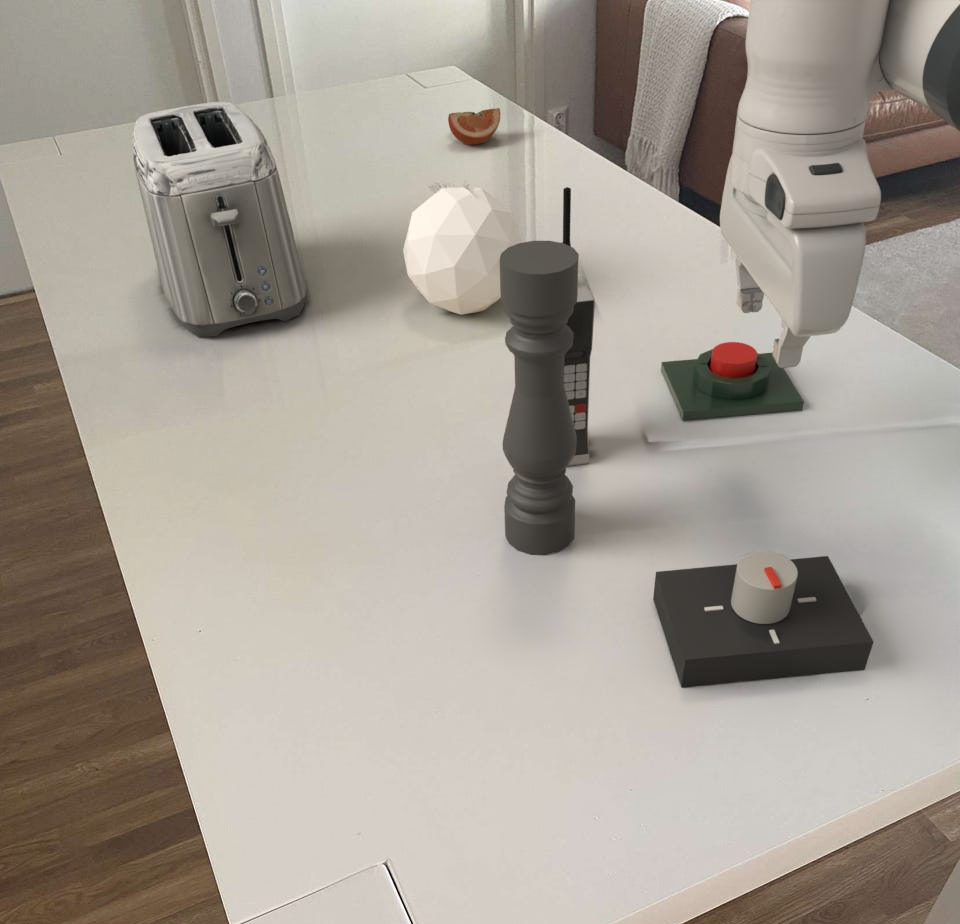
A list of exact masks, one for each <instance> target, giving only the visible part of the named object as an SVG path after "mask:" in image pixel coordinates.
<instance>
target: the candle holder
mask: <svg viewBox="0 0 960 924" xmlns="http://www.w3.org/2000/svg"><path fill="white" fill-rule="evenodd" d="M579 254H580V253H578V251H577V250H576V249H575V248H574V247H572V246H571V247H570V246H568V245H566V244H564V243H562V242H559V241H553V240H529V241H522V243H519V244H516V245H513V246H511V247H508V248H507V249H506V250H505V251H503V252H502V253H501V256H500V291H501V298H500V303H501V304H502V306H503V307H504V312H505V314H506V316H507V317H508V319H509V321H510V324H511V327H510V328H509V329H508V330H507V331H506V332H505V337H504V344H505V347H506V348H507V349H508V351H509V352H510V353H512V355H513V357H514V390H513V394H512V397H511V398H512V399H511V403H510V408H509V411H508V416H507V421H506V425H505V429H504V433H503V439H502V451H503V454H504V456H505V459H506V460H507V462H508V464H509V465H510V467H511V468H512V469H513V471H512V472H513V474H514V475H513V476H512V478H511V479H510V480H509V481H508V483H507V486H506V487H507V488H506V496H505V500H504V504H503V505H504V506H503V508H504V509H503V511H504V536H505V538H506V541H507V543H508V544H509V545H510V546H511V547H512V548H514V549H515V550H516V551H518V552H522V553H525V554H527V555H533V556H547V555H550V554H556V553H559V552H560V551H562V550H564V549H566V548H567V547H569V546H570V544H571V543H572V542H573V541H574V540H575V531H576V498H575V497H574V495H573V492H574V485H573V483H572V482H571V480H570V478H569V477H568V476H567V475H566V472H567V467H569V466H568V465H569V464H570V462H571V461H572V459H573V458H574V455H575V452H576V444H577V436H576V432H575V428H574V424H573V420H572V416H571V412H570V407H569V403H568V399H567V395H566V391H565V387H564V355H565V354H566V352H567V351H568V350H569V349H570V348H571V347H572V344H573V336H574V333H573V332H572V330H571V329H570V328H569V327H568V326H567V325H566V324H567V322H568V318H569V317H570V316H571V315H572V313H573V307H574V305H575V304H576V303H577V296H578V276H579Z"/></svg>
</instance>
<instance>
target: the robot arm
mask: <svg viewBox="0 0 960 924" xmlns="http://www.w3.org/2000/svg"><path fill="white" fill-rule="evenodd" d="M749 3H750V4H749V11H748V16H747V17H748V19H747V24H746V25H747V26H746V35H745V43H744V44H745V45H744V46H745V55H746V63H747V75H746V80H745V81H746V82H745V85H744V89H743V91H742V94H741V97H740V99H739V102H738V105H737V106H738V107H737V109H736V119H735V127H734V136H733V143H732V144H733V145H732V154H731V156H730V158H729V162H728V166H727V170H726V176H725V182H724V187H723V192H722V199H721V205H720V212H719V227H720V233H721V234H720V235H721V236H722V238H723V239H724V240H725V242H726V243H727V244H728V246H729V248H730V249H731V250H732V251H733V253H734V254H735V271H736V279H737V280H736V281H737V293H736V294H737V296H736V305H737V306H738V307H739V309H740V310H741V311H742V313H744V314H750V313H758V312H760V311H761V310H762V308H763V302H764V301H763V300H764V296H765V297H766V298H767V300H768V301H769V303H770V305H771V306H772V308H774V310H775V311H776V312H777V314H778V315H779V317H780V318H781V324H780V325H781V328H782V332H781V335H780V337H779V338H775V339H774V341H773V346H772V347H773V351H772V352H771V353H772V356H773V358H774V360H775V362H776V363H777V365H778V366H779V367H780V368H784V369H788V368H795V367H797V366H799V365H800V363H801V359H802V356H803V355H802V354H803V349H804V347H805V346H806V344H807V342H808V341H809V339H810V338H811V337H817V336H823V335H824V336H825V335H832V334H836V333H837V332H839V331H840V330H841V329H842V328H843V326H844V325H845V324H846V323H847V322H848V318H849V317H850V314H851V311H852V308H853V304H854V300H855V298H856V297H855V296H856V294H857V288H858V285H859V282H860V281H859V280H860V276H861V273H862V272H861V271H862V268H863V263H864V258H865V252H866V245H867V233H866V226H865V224H864V223H865V222H866V223H867V222H872V221H873V222H874V221H875V220H876V218H877V217H878V214H879V210H880V207H881V201H882V191H881V187H880V185H879V183H878V181H877V178H876V176H875V173H874V172H873V169H872V166H871V163H870V160H869V156H868V151H867V150H868V149H867V142H866V140H865V139H864V138H863V137H864V132H865V128H866V127H865V126H866V121H867V117H868V111H869V105H870V102H871V100H872V99H873V98H874V96H875V95H876V94H877V93H881V92H887V91H892V90H893V91H894V92H895V93H897V94H899V95H900V96H902V97H904V98H906V99H908V100H911V101H912V102H914V103H917V104H918V105H920V106H923V107H925V108H926V109H928V110H931V111H932V112H933V114H935V115H936V116H937V117H939V118H940V119H942V120H943V121H944V122H946V123H947V124H949V126H951V127H953V128H954V129H955V130H956V131H958V132H960V0H750V2H749Z"/></svg>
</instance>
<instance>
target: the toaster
mask: <svg viewBox="0 0 960 924" xmlns="http://www.w3.org/2000/svg"><path fill="white" fill-rule="evenodd" d="M131 137H132V140H131V150H132V162H133V168H134V173H135V177H136V180H137V184H138V188H139V193H140V197H141V201H142V205H143V210H144V213H145V218H146V223H147V227H148V232H149V236H150V240H151V244H152V249H153V253H154V258H155V262H156V266H157V271H158V275H159V278H160V283H161V288H162V291H163V293H164V296H165V298H166V300H167V302H168V304H169V306H170V308H171V309H172V310H173V312H174V314H175V315H176V316H177V318H178V319H179V320H180V322H181V323H182V325H183V326H184V327H185V329H186V330H187V331H189V332H190V333H191V334H194V335H195V336H196V337H198V338H203V337H217V336H219V335H220V334H221V333H223V331H226V330H228V329H230V328H234V327H238V326H242V325H246V324H250V323H254V322H261V321H267V320H280V321H282V322H286V321H289V320H291V319H293V318H297V317H299V316H300V315H301V312H302V310H303V309H304V306H305V301H306V294H307V289H306V288H307V287H306V283H305V278H304V274H303V273H304V272H303V270H302V264H301V260H300V255H299V251H298V247H297V244H296V240H295V235H294V234H295V233H294V230H293V226H292V222H291V218H290V213H289V211H288V206H287V202H286V198H285V197H286V196H285V193H284V189H283V186H282V182H281V178H280V174H279V169H278V166H277V162H276V160H275V157H274V154H273V153H272V150H271V147H270V145H269V143H268V140H267V139H266V137H265V136H264V134H263V132H262V130H261V129H260V128H259V126H258V125H257V123H255V122H254V120H252V118H251V117H250V116H248V114H246V113H245V112H244V111H243V110H242V109H241V108H239V106H237V105H236V104H234V103H232V102H230V101H211V102H204V103H198V104H190V105H184V106H180V107H174V108H169V109H163V110H158V111H153V112H148V113H146V114H143V115H141V116H139V117H138V118H137V119H136V121H135V123H134V126H133V130H132V136H131Z"/></svg>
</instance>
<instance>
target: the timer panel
mask: <svg viewBox="0 0 960 924" xmlns="http://www.w3.org/2000/svg"><path fill="white" fill-rule="evenodd" d="M789 559H790V558H789ZM790 560H791V561H792V562H793V563H794V564H795V566H796V568H797V571H798V577H797V581H796V585H795V590H794V594H793V598H792V603H791V607H790V611H789V613H788V615H787V616H786V617H785V618H784V619H782V620H781V621H779V622H776V623H772V624H758V623H753V622H750V621H747V620H745V619H743V618H741V617H740V616H739V615H738V614H736V612H735V611H734V610H733V608H732V605H731V598H732V592H733V586H734V580H735V575H736V569H737V564H738V563H736V564H725V565H715V566H704V567H703V566H702V567H693V568H682V569H671V570H661V571H656V572H655V577H654V586H653V587H654V588H653V598H652V599H653V604H654V606H655V609H656V614H657V616H658V619H659V622H660V626H661V628H662V631H663V634H664V637H665V641H666V643H667V647H668V650H669V653H670V657H671V659H672V664H673V666H674V669H675V672H676V675H677V678H678V682H679V685H680V688H682V689H683V688H691V687H702V686H715V685H724V684H725V685H726V684H731V683H732V684H733V683H746V682H755V681H763V680H764V681H765V680H766V681H767V680H775V679H776V680H777V679H786V678H795V677H806V676H817V675H826V674H827V675H828V674H837V673H847V672H856V671H857V672H858V671H865V670H866V668H867V664H868V661H869V658H870V654H871V652H872V648H873V645H874V639H873V638H872V636H871V634H870V632H869V631H868V629H867V626H866V625H865V623H864V621H863V619H862V617H861V615H860V613H859V611H858V610H857V607H856V606H855V604H854V602H853V600H852V598H851V596H850V594H849V593H848V591H847V588H846V587H845V585H844V583H843V581H842V580H841V577H840V576H839V574H838V572H837V570H836V568H835V566H834V565H833V563H832V561H831V559H830V557H829V555H823V556H812V557H801V558H791V559H790Z"/></svg>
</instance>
